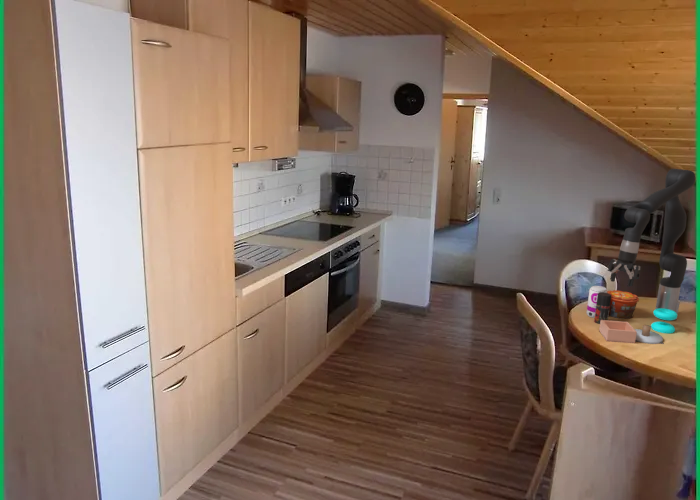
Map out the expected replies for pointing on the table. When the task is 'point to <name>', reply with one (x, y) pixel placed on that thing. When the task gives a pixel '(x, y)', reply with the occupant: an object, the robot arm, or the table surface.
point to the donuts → (664, 315)
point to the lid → (648, 335)
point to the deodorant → (602, 307)
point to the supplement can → (593, 299)
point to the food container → (622, 304)
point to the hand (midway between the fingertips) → (620, 283)
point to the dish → (617, 331)
